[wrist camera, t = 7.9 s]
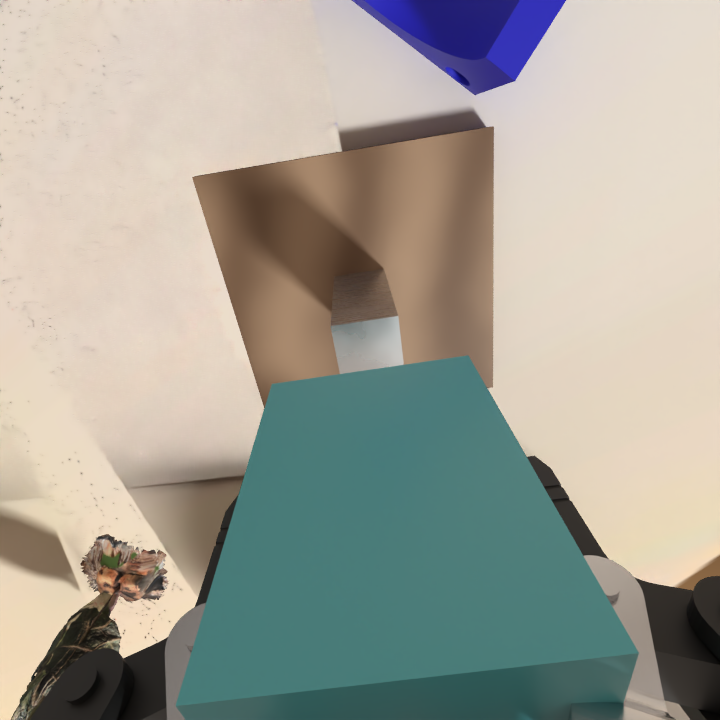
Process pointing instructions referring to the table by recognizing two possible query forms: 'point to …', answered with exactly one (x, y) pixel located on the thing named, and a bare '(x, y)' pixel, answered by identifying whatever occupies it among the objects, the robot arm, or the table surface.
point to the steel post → (365, 322)
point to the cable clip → (470, 34)
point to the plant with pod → (97, 612)
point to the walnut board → (359, 249)
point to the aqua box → (399, 566)
